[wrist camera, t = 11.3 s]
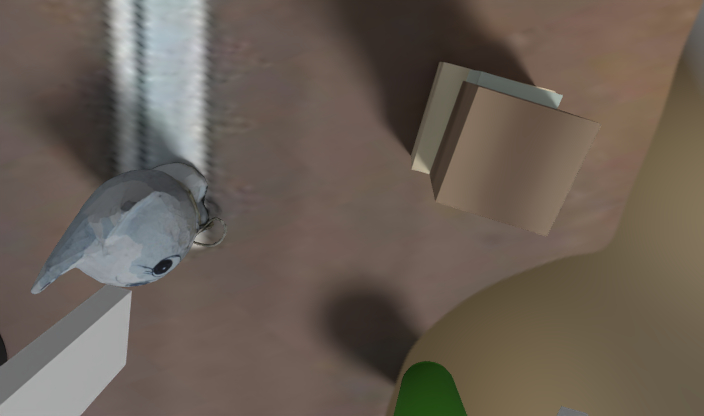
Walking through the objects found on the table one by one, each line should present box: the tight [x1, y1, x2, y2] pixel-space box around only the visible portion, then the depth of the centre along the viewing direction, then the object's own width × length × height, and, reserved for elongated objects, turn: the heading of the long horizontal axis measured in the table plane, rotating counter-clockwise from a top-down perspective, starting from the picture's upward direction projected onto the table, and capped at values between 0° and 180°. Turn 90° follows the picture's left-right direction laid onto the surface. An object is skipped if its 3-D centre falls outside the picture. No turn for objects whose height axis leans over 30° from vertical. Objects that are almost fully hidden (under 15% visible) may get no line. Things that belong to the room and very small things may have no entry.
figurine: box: [31, 163, 227, 294], centre depth 35 cm, size 10×9×15 cm
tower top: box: [466, 70, 563, 109], centre depth 30 cm, size 5×8×5 cm, turn 164°
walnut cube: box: [430, 81, 602, 236], centre depth 24 cm, size 6×6×6 cm
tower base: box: [411, 62, 556, 174], centre depth 34 cm, size 8×8×5 cm
